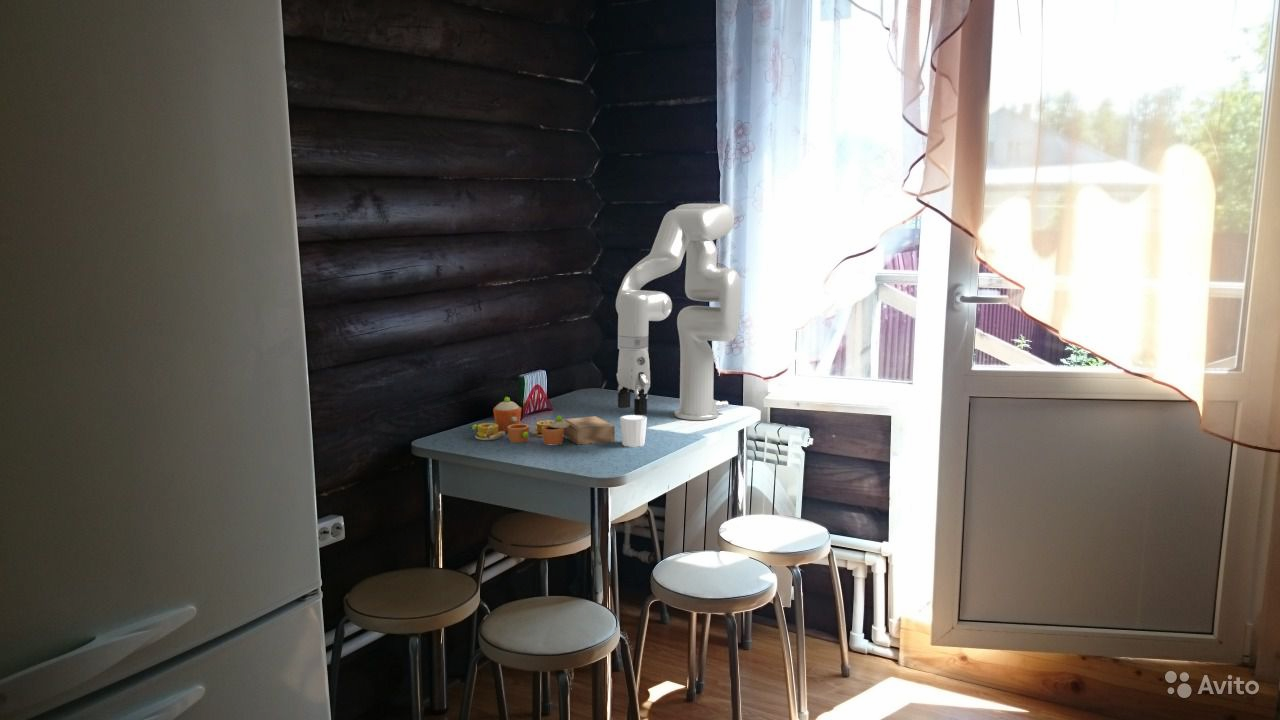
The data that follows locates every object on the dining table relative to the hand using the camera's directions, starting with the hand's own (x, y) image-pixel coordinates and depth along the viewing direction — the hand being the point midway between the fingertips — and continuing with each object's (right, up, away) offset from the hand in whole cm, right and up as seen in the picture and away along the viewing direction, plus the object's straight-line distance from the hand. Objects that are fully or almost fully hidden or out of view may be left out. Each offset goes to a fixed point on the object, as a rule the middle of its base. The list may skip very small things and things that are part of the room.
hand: (632, 411), depth 229 cm
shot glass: (0, -9, +2) cm, 9 cm away
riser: (-12, -7, +8) cm, 16 cm away
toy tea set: (-28, -8, +10) cm, 30 cm away
